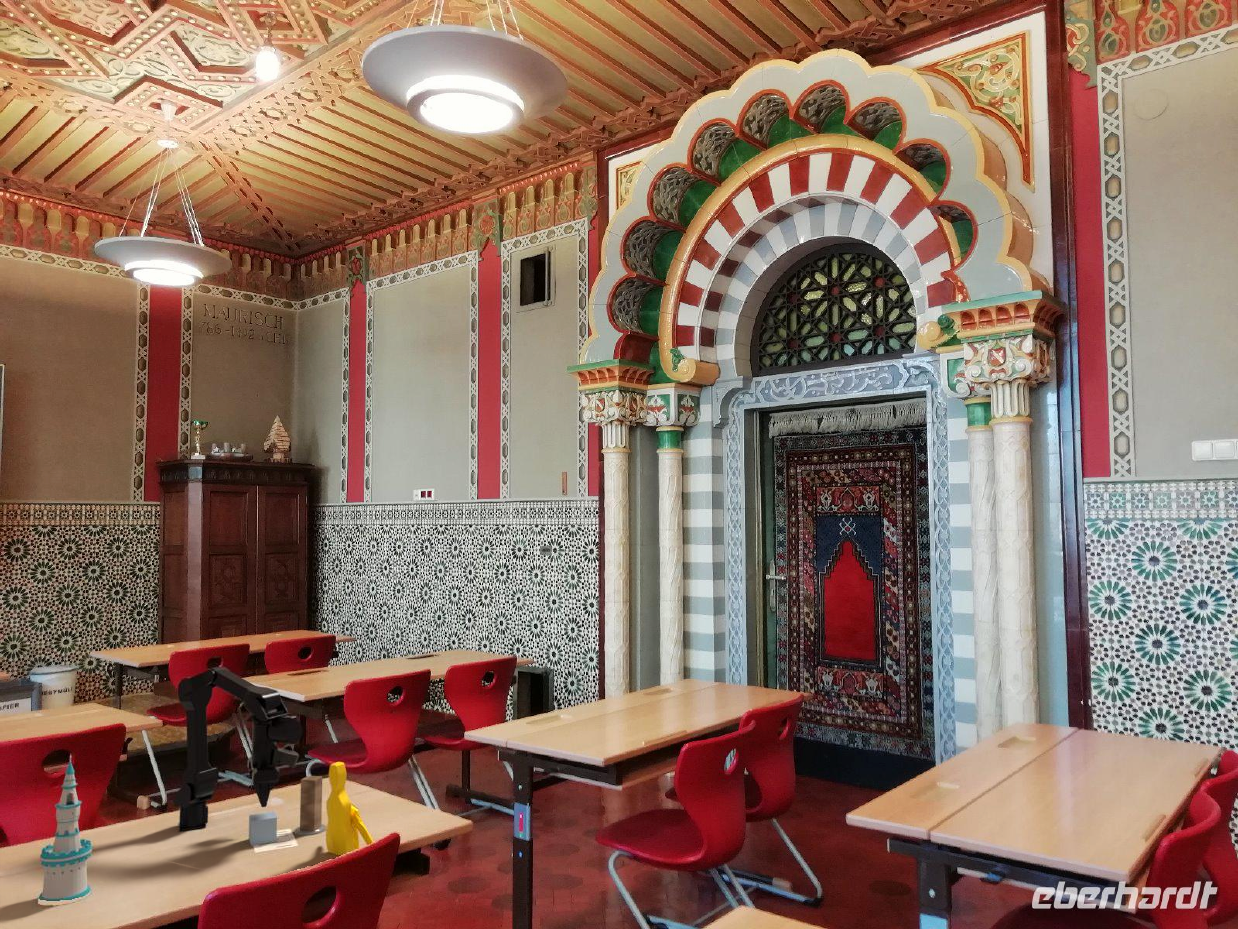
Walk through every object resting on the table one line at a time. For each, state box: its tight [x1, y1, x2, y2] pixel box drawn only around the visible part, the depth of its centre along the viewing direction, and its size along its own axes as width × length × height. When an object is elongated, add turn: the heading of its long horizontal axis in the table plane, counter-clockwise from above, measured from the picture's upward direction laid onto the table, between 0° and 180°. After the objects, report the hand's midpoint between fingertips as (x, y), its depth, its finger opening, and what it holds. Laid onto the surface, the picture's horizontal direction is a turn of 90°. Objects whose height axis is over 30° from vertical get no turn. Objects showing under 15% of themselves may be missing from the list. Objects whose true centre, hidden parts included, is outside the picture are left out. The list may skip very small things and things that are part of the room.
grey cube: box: [248, 810, 278, 847], centre depth 225 cm, size 6×6×6 cm
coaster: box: [293, 824, 327, 836], centre depth 232 cm, size 8×8×1 cm
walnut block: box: [299, 775, 323, 831], centre depth 233 cm, size 4×4×13 cm
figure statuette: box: [325, 761, 375, 856], centre depth 216 cm, size 18×8×22 cm, turn 56°
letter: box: [252, 828, 299, 854], centre depth 225 cm, size 10×15×1 cm, turn 27°
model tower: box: [38, 753, 93, 901], centre depth 192 cm, size 10×10×30 cm
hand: (262, 802), depth 228 cm, fingers open, 9 cm apart
